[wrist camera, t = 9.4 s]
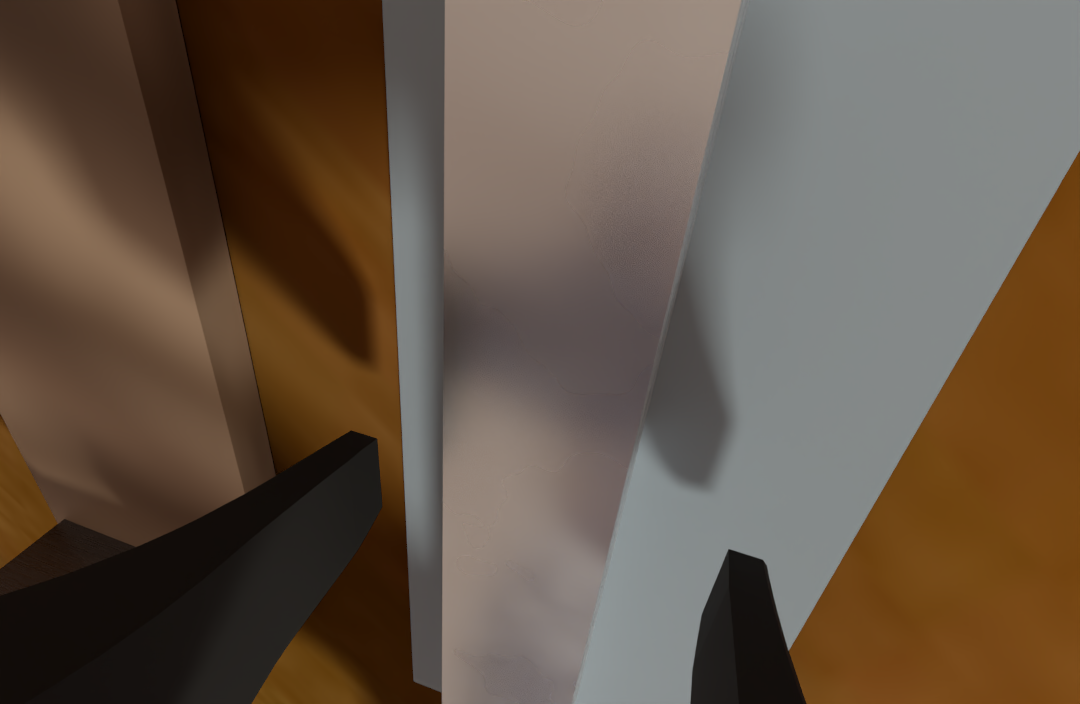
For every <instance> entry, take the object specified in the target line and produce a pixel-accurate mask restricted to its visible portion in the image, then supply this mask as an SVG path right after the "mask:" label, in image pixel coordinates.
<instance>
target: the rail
mask: <svg viewBox="0 0 1080 704" xmlns="http://www.w3.org/2000/svg"><path fill="white" fill-rule="evenodd" d="M749 2H750V0H445V99H444V327H443V556H442V704H575V703H576V699H577V695H578V691H579V687H580V683H581V679H582V675H583V671H584V667H585V662H586V658H587V654H588V650H589V646H590V642H591V638H592V634H593V630H594V626H595V622H596V618H597V614H598V610H599V606H600V602H601V598H602V594H603V590H604V586H605V582H606V578H607V574H608V570H609V566H610V562H611V558H612V554H613V550H614V546H615V542H616V538H617V534H618V530H619V526H620V521H621V517H622V513H623V509H624V505H625V501H626V497H627V493H628V489H629V485H630V481H631V477H632V473H633V469H634V465H635V461H636V457H637V453H638V449H639V445H640V441H641V437H642V433H643V429H644V425H645V421H646V417H647V413H648V409H649V405H650V401H651V397H652V393H653V389H654V385H655V380H656V376H657V372H658V368H659V364H660V360H661V356H662V352H663V348H664V344H665V340H666V336H667V332H668V328H669V324H670V320H671V316H672V312H673V308H674V304H675V300H676V296H677V292H678V288H679V284H680V280H681V276H682V272H683V268H684V264H685V260H686V256H687V252H688V248H689V244H690V239H691V235H692V231H693V227H694V223H695V219H696V215H697V211H698V207H699V203H700V199H701V195H702V191H703V187H704V183H705V179H706V175H707V171H708V167H709V163H710V159H711V155H712V151H713V147H714V143H715V139H716V135H717V131H718V127H719V123H720V119H721V115H722V111H723V107H724V103H725V98H726V94H727V90H728V86H729V82H730V78H731V74H732V70H733V66H734V62H735V58H736V54H737V50H738V46H739V42H740V38H741V34H742V30H743V26H744V22H745V18H746V14H747V10H748V6H749Z"/></svg>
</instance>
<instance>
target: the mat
mask: <svg viewBox="0 0 1080 704" xmlns="http://www.w3.org/2000/svg"><path fill="white" fill-rule="evenodd" d="M382 9H383V31H384V53H385V75H386V96H387V118H388V140H389V162H390V183H391V205H392V227H393V248H394V270H395V292H396V314H397V335H398V357H399V379H400V401H401V422H402V444H403V466H404V487H405V509H406V531H407V553H408V574H409V596H410V618H411V640H412V661H413V681H414V682H416V683H419V684H421V685H424V686H426V687H429V688H431V689H434V690H436V691H439V692H441V693H442V556H443V327H444V99H445V0H382ZM1079 151H1080V0H750V2H749V6H748V10H747V14H746V18H745V22H744V26H743V30H742V34H741V38H740V42H739V46H738V50H737V54H736V58H735V62H734V66H733V70H732V74H731V78H730V82H729V86H728V90H727V94H726V98H725V103H724V107H723V111H722V115H721V119H720V123H719V127H718V131H717V135H716V139H715V143H714V147H713V151H712V155H711V159H710V163H709V167H708V171H707V175H706V179H705V183H704V187H703V191H702V195H701V199H700V203H699V207H698V211H697V215H696V219H695V223H694V227H693V231H692V235H691V239H690V244H689V248H688V252H687V256H686V260H685V264H684V268H683V272H682V276H681V280H680V284H679V288H678V292H677V296H676V300H675V304H674V308H673V312H672V316H671V320H670V324H669V328H668V332H667V336H666V340H665V344H664V348H663V352H662V356H661V360H660V364H659V368H658V372H657V376H656V380H655V385H654V389H653V393H652V397H651V401H650V405H649V409H648V413H647V417H646V421H645V425H644V429H643V433H642V437H641V441H640V445H639V449H638V453H637V457H636V461H635V465H634V469H633V473H632V477H631V481H630V485H629V489H628V493H627V497H626V501H625V505H624V509H623V513H622V517H621V521H620V526H619V530H618V534H617V538H616V542H615V546H614V550H613V554H612V558H611V562H610V566H609V570H608V574H607V578H606V582H605V586H604V590H603V594H602V598H601V602H600V606H599V610H598V614H597V618H596V622H595V626H594V630H593V634H592V638H591V642H590V646H589V650H588V654H587V658H586V662H585V667H584V671H583V675H582V679H581V683H580V687H579V691H578V695H577V699H576V703H575V704H690V701H691V685H692V669H693V663H694V657H695V651H696V644H697V638H698V633H699V627H700V621H701V615H702V612H703V610H704V607H705V605H706V603H707V600H708V598H709V595H710V593H711V590H712V588H713V586H714V583H715V581H716V578H717V576H718V573H719V571H720V569H721V566H722V564H723V561H724V559H725V556H726V554H727V552H728V549H731V550H734V551H737V552H740V553H743V554H746V555H750V556H753V557H756V558H759V559H762V560H763V561H764V562H765V564H766V565H767V568H768V574H769V579H770V583H771V588H772V592H773V596H774V600H775V604H776V608H777V612H778V616H779V619H780V623H781V627H782V630H783V634H784V637H785V641H786V644H787V647H788V650H789V649H790V648H791V646H792V644H793V642H794V641H795V639H796V637H797V636H798V634H799V632H800V630H801V629H802V627H803V625H804V623H805V622H806V620H807V618H808V617H809V615H810V613H811V611H812V610H813V608H814V606H815V605H816V603H817V601H818V599H819V598H820V596H821V594H822V593H823V591H824V589H825V587H826V586H827V584H828V582H829V580H830V579H831V577H832V575H833V574H834V572H835V570H836V568H837V567H838V565H839V563H840V562H841V560H842V558H843V556H844V555H845V553H846V551H847V550H848V548H849V546H850V544H851V543H852V541H853V539H854V537H855V536H856V534H857V532H858V531H859V529H860V527H861V525H862V524H863V522H864V520H865V519H866V517H867V515H868V513H869V512H870V510H871V508H872V507H873V505H874V503H875V501H876V500H877V498H878V496H879V494H880V493H881V491H882V489H883V488H884V486H885V484H886V482H887V481H888V479H889V477H890V476H891V474H892V472H893V470H894V469H895V467H896V465H897V464H898V462H899V460H900V458H901V457H902V455H903V453H904V451H905V450H906V448H907V446H908V445H909V443H910V441H911V439H912V438H913V436H914V434H915V433H916V431H917V429H918V427H919V426H920V424H921V422H922V421H923V419H924V417H925V415H926V414H927V412H928V410H929V408H930V407H931V405H932V403H933V402H934V400H935V398H936V396H937V395H938V393H939V391H940V390H941V388H942V386H943V384H944V383H945V381H946V379H947V378H948V376H949V374H950V372H951V371H952V369H953V367H954V365H955V364H956V362H957V360H958V359H959V357H960V355H961V353H962V352H963V350H964V348H965V347H966V345H967V343H968V341H969V340H970V338H971V336H972V335H973V333H974V331H975V329H976V328H977V326H978V324H979V323H980V321H981V319H982V317H983V316H984V314H985V312H986V310H987V309H988V307H989V305H990V304H991V302H992V300H993V298H994V297H995V295H996V293H997V292H998V290H999V288H1000V286H1001V285H1002V283H1003V281H1004V280H1005V278H1006V276H1007V274H1008V273H1009V271H1010V269H1011V267H1012V266H1013V264H1014V262H1015V261H1016V259H1017V257H1018V255H1019V254H1020V252H1021V250H1022V249H1023V247H1024V245H1025V243H1026V242H1027V240H1028V238H1029V237H1030V235H1031V233H1032V231H1033V230H1034V228H1035V226H1036V224H1037V223H1038V221H1039V219H1040V218H1041V216H1042V214H1043V212H1044V211H1045V209H1046V207H1047V206H1048V204H1049V202H1050V200H1051V199H1052V197H1053V195H1054V194H1055V192H1056V190H1057V188H1058V187H1059V185H1060V183H1061V181H1062V180H1063V178H1064V176H1065V175H1066V173H1067V171H1068V169H1069V168H1070V166H1071V164H1072V163H1073V161H1074V159H1075V157H1076V156H1077V154H1078V152H1079Z"/></svg>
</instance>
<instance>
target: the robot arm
mask: <svg viewBox="0 0 1080 704" xmlns="http://www.w3.org/2000/svg"><path fill="white" fill-rule="evenodd" d="M381 508H382V496H381V483H380V470H379V457H378V444H377V439H376V438H373V437H370V436H367V435H364V434H360V433H357V432H354V431H350V432H348V433H346V434H345V435H343V436H341V437H340V438H338V439H336V440H335V441H333V442H331V443H330V444H328V445H326V446H325V447H323V448H321V449H320V450H318V451H316V452H315V453H313V454H311V455H310V456H308V457H306V458H305V459H303V460H301V461H300V462H298V463H297V464H295V465H293V466H292V467H290V468H288V469H287V470H285V471H283V472H281V473H280V474H278V475H276V476H275V477H273V478H271V479H269V480H268V481H266V482H264V483H263V484H261V485H259V486H257V487H256V488H254V489H252V490H251V491H249V492H247V493H245V494H243V495H242V496H240V497H238V498H236V499H234V500H232V501H230V502H228V503H227V504H225V505H223V506H221V507H219V508H217V509H215V510H213V511H212V512H210V513H208V514H206V515H204V516H202V517H200V518H198V519H196V520H194V521H192V522H190V523H188V524H186V525H184V526H182V527H180V528H178V529H175V530H173V531H171V532H169V533H167V534H164V535H162V536H160V537H158V538H155V539H153V540H151V541H149V542H147V543H144V544H142V545H140V546H137V547H135V548H133V549H130V550H127V551H125V552H122V553H120V554H117V555H115V556H112V557H109V558H107V559H104V560H102V561H99V562H97V563H94V564H91V565H89V566H86V567H84V568H81V569H79V570H76V571H73V572H70V573H68V574H65V575H62V576H59V577H56V578H53V579H50V580H47V581H44V582H41V583H38V584H35V585H32V586H29V587H26V588H23V589H20V590H16V591H13V592H10V593H7V594H4V595H1V596H0V704H251V703H252V702H253V700H254V698H255V697H256V695H257V693H258V692H259V690H260V688H261V687H262V685H263V683H264V682H265V680H266V679H267V677H268V675H269V674H270V672H271V670H272V669H273V667H274V665H275V664H276V662H277V661H278V659H279V658H280V656H281V655H282V653H283V652H284V650H285V649H286V647H287V646H288V644H289V643H290V642H291V640H292V639H293V637H294V636H295V635H296V633H297V632H298V631H299V629H300V628H301V627H302V625H303V624H304V623H305V621H306V620H307V619H308V617H309V616H310V615H311V613H312V612H313V610H314V609H315V608H316V606H317V605H318V604H319V602H320V601H321V600H322V598H323V597H324V596H325V594H326V593H327V592H328V590H329V589H330V588H331V586H332V585H333V584H334V582H335V581H336V579H337V578H338V577H339V575H340V574H341V573H342V571H343V570H344V568H345V567H346V566H347V564H348V563H349V562H350V560H351V559H352V557H353V556H354V555H355V553H356V552H357V550H358V549H359V547H360V545H361V544H362V542H363V540H364V539H365V537H366V535H367V533H368V532H369V530H370V528H371V526H372V524H373V523H374V521H375V519H376V517H377V515H378V513H379V512H380V510H381ZM690 704H806V701H805V699H804V696H803V693H802V690H801V687H800V684H799V681H798V678H797V675H796V672H795V669H794V666H793V663H792V660H791V657H790V654H789V650H788V647H787V644H786V641H785V637H784V634H783V630H782V627H781V623H780V619H779V616H778V612H777V608H776V604H775V600H774V596H773V592H772V588H771V583H770V579H769V574H768V568H767V565H766V564H765V562H764V561H763V560H762V559H759V558H756V557H753V556H750V555H746V554H743V553H740V552H737V551H734V550H731V549H728V552H727V554H726V556H725V559H724V561H723V564H722V566H721V569H720V571H719V573H718V576H717V578H716V581H715V583H714V586H713V588H712V590H711V593H710V595H709V598H708V600H707V603H706V605H705V607H704V610H703V612H702V615H701V621H700V627H699V633H698V638H697V644H696V651H695V657H694V663H693V669H692V685H691V701H690Z"/></svg>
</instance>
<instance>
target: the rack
mask: <svg viewBox="0 0 1080 704" xmlns="http://www.w3.org/2000/svg"><path fill="white" fill-rule="evenodd" d="M0 414H1V416H2V418H3V420H4V422H5V423H6V425H7V427H8V429H9V431H10V433H11V435H12V437H13V439H14V441H15V443H16V444H17V446H18V448H19V450H20V452H21V454H22V456H23V458H24V460H25V462H26V463H27V465H28V467H29V469H30V471H31V473H32V475H33V477H34V479H35V481H36V483H37V484H38V486H39V488H40V490H41V492H42V494H43V496H44V498H45V500H46V502H47V503H48V505H49V507H50V509H51V511H52V513H53V515H54V517H55V519H56V521H57V523H58V524H57V525H56V526H55V527H54V528H52V529H51V530H50V531H48V532H47V533H46V534H45V535H43V536H42V537H41V538H39V539H38V540H37V541H36V542H34V543H33V544H32V545H31V546H29V547H28V548H27V549H25V550H24V551H23V552H22V553H20V554H19V555H18V556H16V557H15V558H14V559H13V560H11V561H10V562H9V563H8V564H6V565H5V566H4V567H2V568H1V569H0V596H1V595H4V594H7V593H10V592H13V591H16V590H20V589H23V588H26V587H29V586H32V585H35V584H38V583H41V582H44V581H47V580H50V579H53V578H56V577H59V576H62V575H65V574H68V573H70V572H73V571H76V570H79V569H81V568H84V567H86V566H89V565H91V564H94V563H97V562H99V561H102V560H104V559H107V558H109V557H112V556H115V555H117V554H120V553H122V552H125V551H127V550H130V549H133V548H135V547H137V546H140V545H142V544H144V543H147V542H149V541H151V540H153V539H155V538H158V537H160V536H162V535H164V534H167V533H169V532H171V531H173V530H175V529H178V528H180V527H182V526H184V525H186V524H188V523H190V522H192V521H194V520H196V519H198V518H200V517H202V516H204V515H206V514H208V513H210V512H212V511H213V510H215V509H217V508H219V507H221V506H223V505H225V504H227V503H228V502H230V501H232V500H234V499H236V498H238V497H240V496H242V495H243V494H245V493H247V492H249V491H251V490H252V489H254V488H256V487H257V486H259V485H261V484H263V483H264V482H266V481H268V480H269V479H271V478H273V477H275V476H276V474H275V469H274V464H273V460H272V455H271V450H270V446H269V441H268V436H267V431H266V427H265V422H264V417H263V412H262V408H261V403H260V398H259V393H258V389H257V384H256V379H255V375H254V370H253V365H252V360H251V356H250V351H249V346H248V341H247V337H246V332H245V327H244V322H243V318H242V313H241V308H240V304H239V299H238V294H237V289H236V285H235V280H234V275H233V270H232V266H231V261H230V256H229V251H228V247H227V242H226V237H225V233H224V228H223V223H222V218H221V214H220V209H219V204H218V199H217V195H216V190H215V185H214V180H213V176H212V171H211V166H210V162H209V157H208V152H207V147H206V143H205V138H204V133H203V128H202V124H201V119H200V114H199V109H198V105H197V100H196V95H195V91H194V86H193V81H192V76H191V72H190V67H189V62H188V57H187V53H186V48H185V43H184V38H183V34H182V29H181V24H180V20H179V15H178V10H177V5H176V1H175V0H0Z"/></svg>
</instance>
